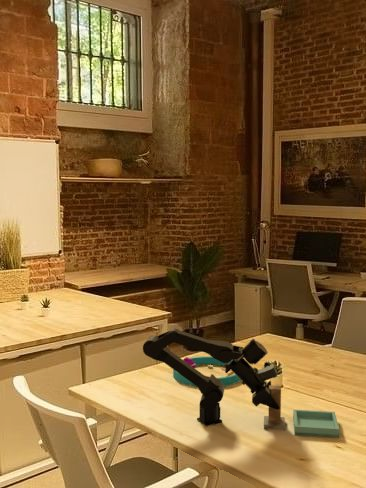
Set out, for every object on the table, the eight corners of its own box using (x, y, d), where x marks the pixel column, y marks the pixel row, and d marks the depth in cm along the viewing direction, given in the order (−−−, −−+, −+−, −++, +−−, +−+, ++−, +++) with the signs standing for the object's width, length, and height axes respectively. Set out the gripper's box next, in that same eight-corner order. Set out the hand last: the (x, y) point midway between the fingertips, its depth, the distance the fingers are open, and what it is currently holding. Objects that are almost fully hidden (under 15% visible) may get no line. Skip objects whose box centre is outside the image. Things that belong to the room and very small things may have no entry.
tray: (294, 435, 184) (294, 426, 184) (293, 417, 198) (293, 409, 198) (339, 438, 182) (339, 429, 182) (334, 420, 196) (334, 411, 196)
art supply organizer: (191, 361, 263) (191, 348, 262) (253, 370, 250) (253, 357, 249) (160, 381, 236) (160, 367, 236) (228, 392, 223) (228, 378, 223)
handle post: (263, 428, 189) (264, 390, 188) (264, 420, 196) (264, 383, 195) (285, 430, 188) (285, 392, 187) (284, 421, 195) (285, 384, 194)
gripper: (262, 366, 181) (297, 401, 181) (263, 349, 200) (295, 381, 199) (237, 388, 183) (272, 423, 183) (241, 370, 202) (272, 401, 201)
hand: (278, 406), depth 191 cm, fingers closed on handle post, 4 cm apart
